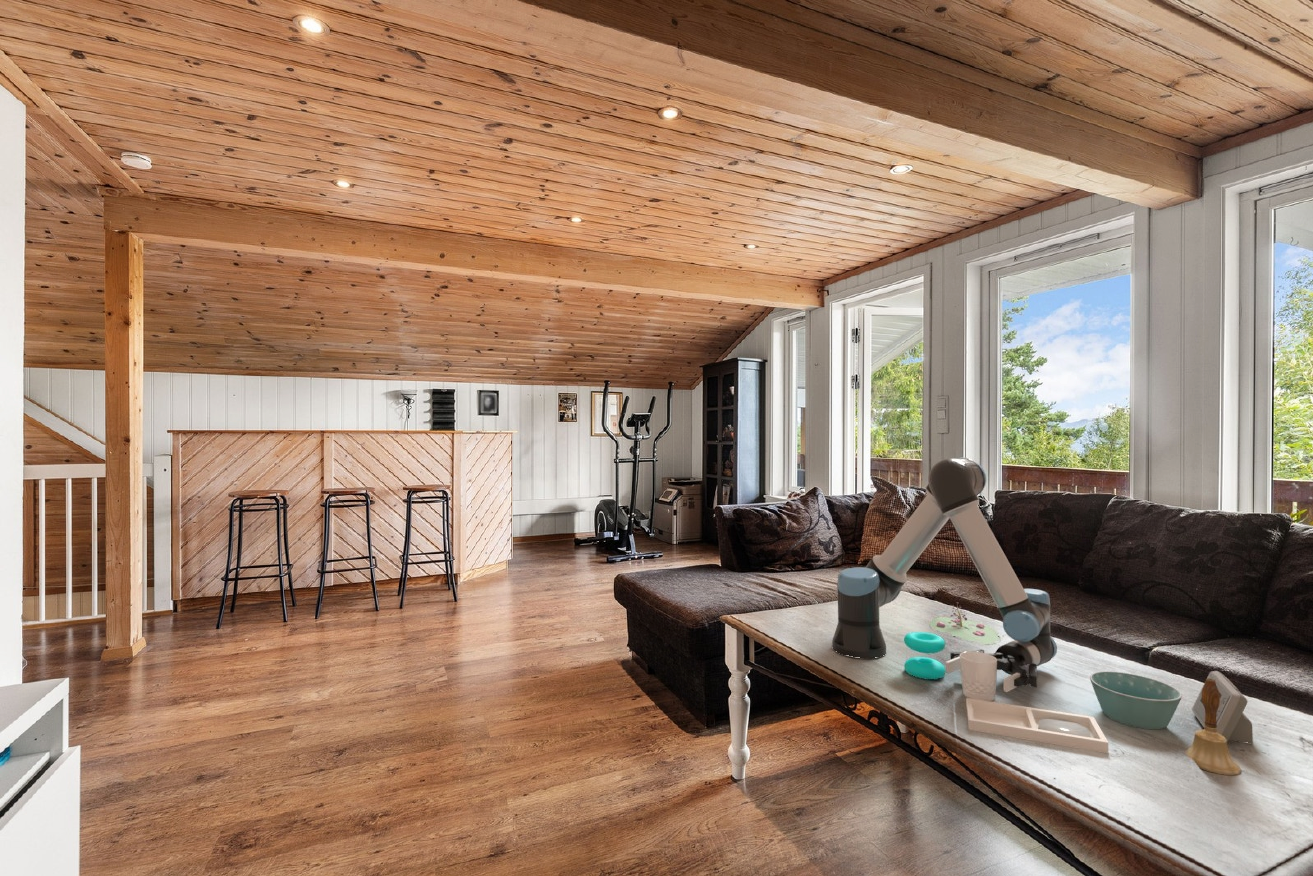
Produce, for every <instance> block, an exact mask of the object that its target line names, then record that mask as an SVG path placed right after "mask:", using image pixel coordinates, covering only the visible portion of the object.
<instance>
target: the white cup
mask: <svg viewBox="0 0 1313 876" xmlns="http://www.w3.org/2000/svg"><path fill="white" fill-rule="evenodd" d="M961 652H962V653H961V654H960V666H961V669H960V679H961V687H962V694H963V695H964V696H965V697H966V698H970V699H977V700H984V701H990V702H992V701H995V699H996V689H997V677H998V674H997V673H998V671H997V659H996V658H995V657H994V656H992V655H989V654H990V653H987V654H985V652H984V653H981V652H965V651H961Z"/></svg>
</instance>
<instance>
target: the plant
mask: <svg viewBox="0 0 1313 876" xmlns="http://www.w3.org/2000/svg"><path fill="white" fill-rule="evenodd" d="M956 604H957V605H956V606H955V604H952V605H950V607H952V609H953V610H951V612H952V613H953V614H951V615H950V617H944V616H942V617H936V618H934V619H933V620H932V621H931V622H930V623H929V628H931V627H934V628H935V629H936V630H938V631H940V632H948V633H951V634H952V636H951V637H953V636H960V637H961V638H962V639H961V640H963V641H968V642H971V641H979V642H980V643H981V644H980V645H982V644H983V645H984V646H987V645H988V646H991V645H993V644H994V643H995V641H1000V642H1001V639H1002V638H1001V637H1000V638H1001V639H1000V638H999V637H997V636H1000V635H999V634H998V632H997V631H996V630H995V628H993V627H991V626H989V625H987V624H985V623H984V622H977V621H972V620H971V621H970V620H968V618H967V616H966V615H967V614H968V613H967V612H966V611H964V610H963V611H962V610H961V609H962V606H961V605H959V606H958V604H959V602H956ZM955 607H956V608H955ZM959 609H960V610H959ZM954 610H955V611H954ZM952 617H956V618H952ZM940 632H939V633H940ZM996 632H997V633H996ZM990 644H991V645H990ZM995 644H996V643H995ZM995 644H994V645H995ZM983 645H982V646H983Z"/></svg>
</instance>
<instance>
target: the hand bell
mask: <svg viewBox="0 0 1313 876" xmlns="http://www.w3.org/2000/svg"><path fill="white" fill-rule="evenodd" d="M1204 683H1205V684H1204ZM1204 683H1203V685H1204V686H1202V687H1203V688H1201V689H1202V702H1203V706H1204V708H1205V728H1204V729H1197V730H1196V731H1194V737H1193V741H1192V744H1191V745H1190V747H1189V748H1188V749H1185V754H1186V755H1187V756H1188V757H1189V758H1191V759H1192V760H1193V762H1194V763H1195V764H1196V765H1197V767H1198V768H1199V769H1200V770H1203V771H1206V772H1209V773H1210V772H1211V773H1213V774H1219V775H1225V776H1237V775H1240V774H1241V773H1242V769H1241V767H1240V765H1239V764H1238V763H1236V761H1234V759H1233V758H1232V756H1231V753H1230V751H1229V747H1228V741H1227V740H1226V738H1225V737H1224V736H1222V735H1220V734H1219V733H1217V721H1216V713H1217V710H1218V708H1219V704H1220V694H1219V690H1218V688H1217V686H1216V682H1215V680H1213V679H1207V678H1205V682H1204Z"/></svg>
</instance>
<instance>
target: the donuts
mask: <svg viewBox="0 0 1313 876" xmlns="http://www.w3.org/2000/svg"><path fill="white" fill-rule="evenodd" d="M903 642H904V644H905V645H906V647H907V648H909V649H910V650H912V651H914V652H917V653H922V654H937V653H939V652H942V651H944V649H945V647H946V642H945V640H944V638H942V637H941V636H939V635H938V634H935V633H931V632H924V631H912V632H909V633H907V634H905V636H904V638H903ZM904 670H905V671H906V673H908V674H909V675H910V674H911V675H910V676H912V675H913V676H912V677H914V676H915V677H914V678H917V677H919V678H918V679H921V678H926V679H925V680H928V679H934V680H939V679H938V678H940V679H941V678H944V677H945V675H946V674H947V673H946V666H944V664H943V663H941V662H940V661H939V660H936V659H934V658H931V657H927V656H914V657H910V658H908V659H907V660H905V663H904Z"/></svg>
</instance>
